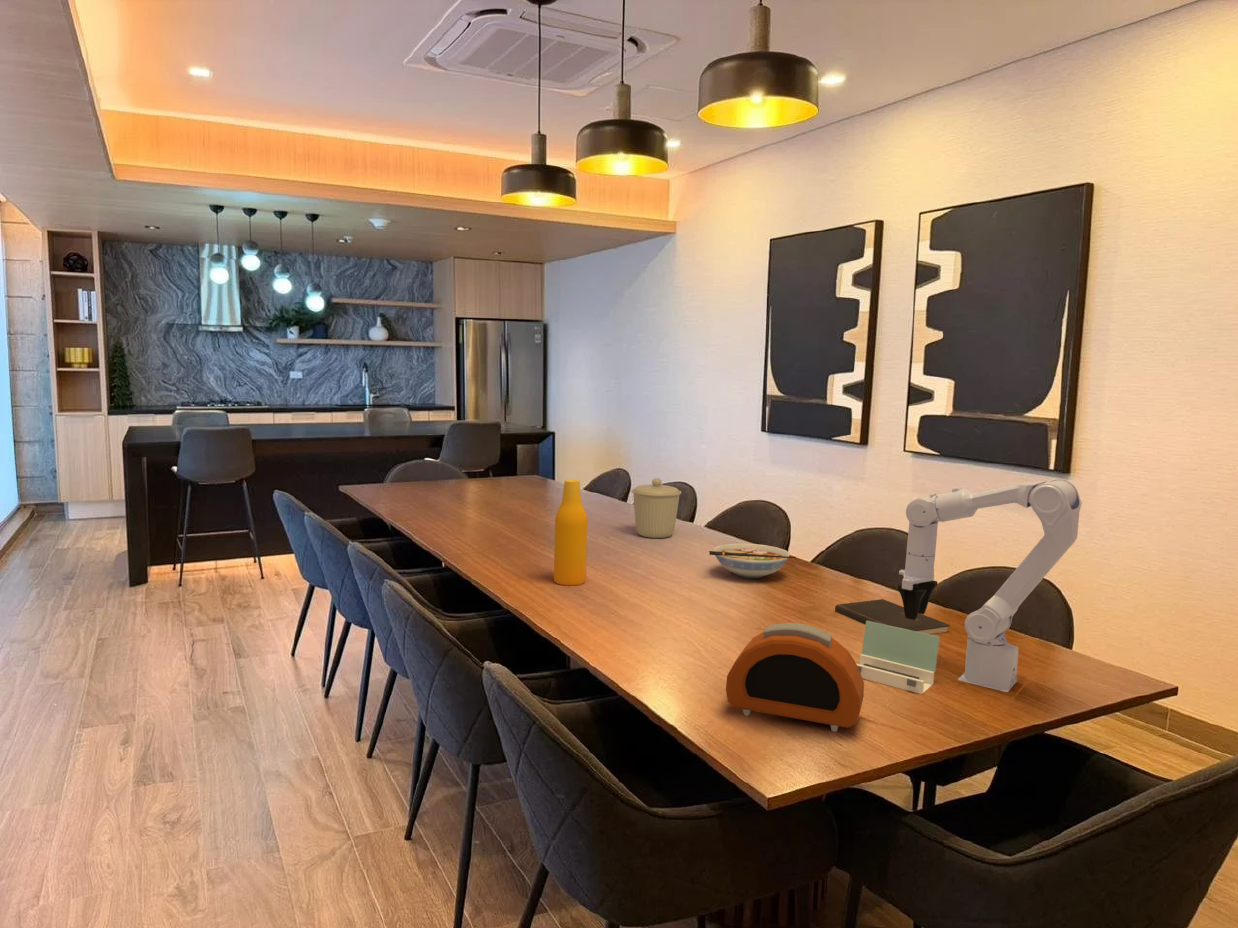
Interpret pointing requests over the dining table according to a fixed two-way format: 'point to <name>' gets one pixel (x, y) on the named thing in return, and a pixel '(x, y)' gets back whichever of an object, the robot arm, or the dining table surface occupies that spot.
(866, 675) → the cream piece
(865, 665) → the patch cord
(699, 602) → the dining table surface
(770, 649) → the alarm clock
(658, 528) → the canister
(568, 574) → the beer bottle
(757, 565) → the ramen bowl
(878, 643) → the panel
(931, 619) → the hardcover book
